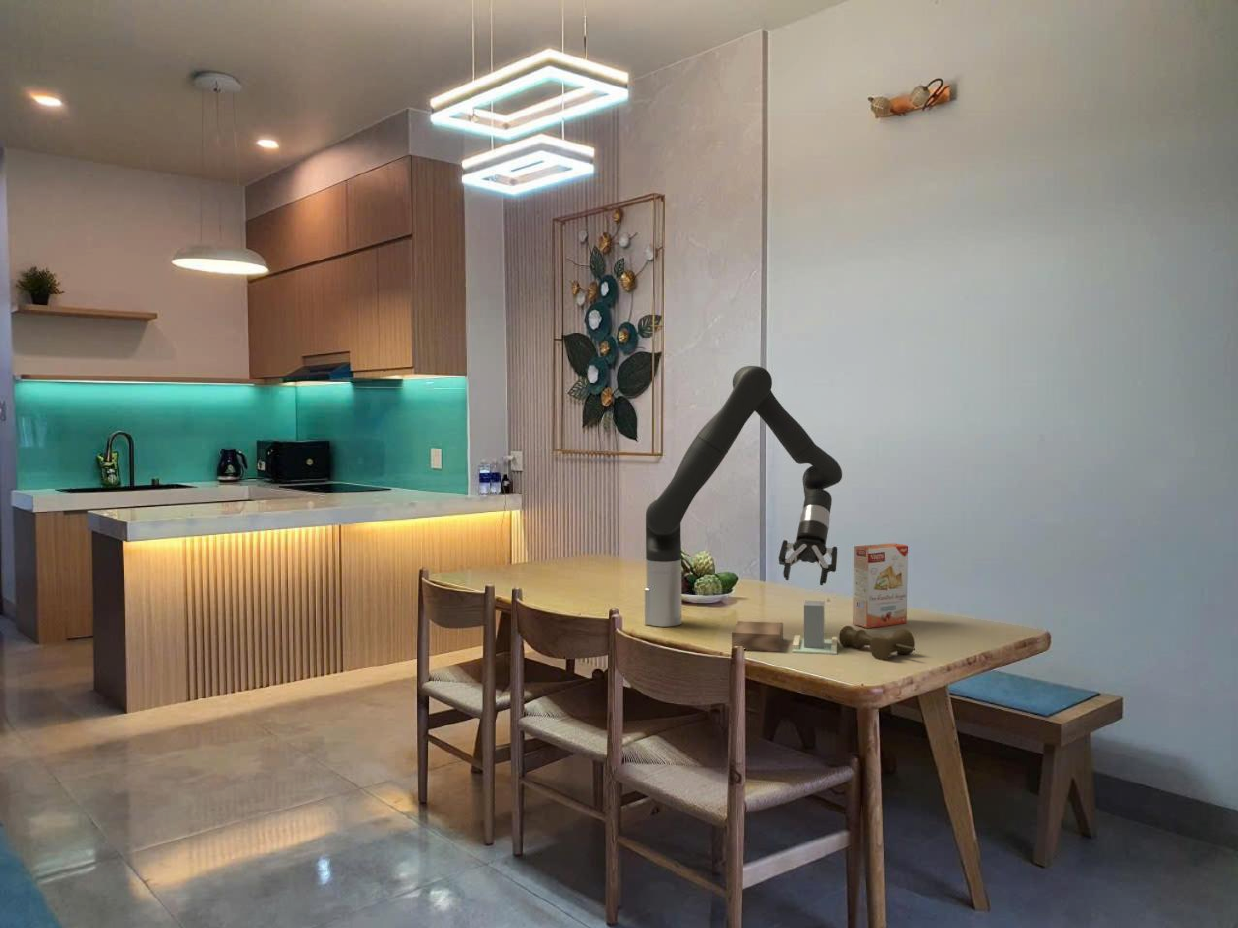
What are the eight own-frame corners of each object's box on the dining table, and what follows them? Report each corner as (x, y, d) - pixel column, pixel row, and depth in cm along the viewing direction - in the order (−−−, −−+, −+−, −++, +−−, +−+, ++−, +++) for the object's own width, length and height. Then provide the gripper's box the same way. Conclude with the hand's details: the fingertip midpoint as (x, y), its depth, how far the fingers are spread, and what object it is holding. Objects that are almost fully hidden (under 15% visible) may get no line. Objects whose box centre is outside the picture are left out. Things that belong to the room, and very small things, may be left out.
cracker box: (868, 629, 239) (868, 548, 238) (852, 624, 245) (852, 545, 244) (908, 623, 246) (909, 544, 245) (892, 619, 251) (892, 542, 250)
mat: (792, 652, 216) (792, 646, 216) (795, 639, 229) (795, 633, 229) (836, 654, 214) (836, 648, 214) (837, 641, 226) (837, 635, 226)
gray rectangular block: (803, 647, 219) (803, 605, 219) (805, 641, 225) (805, 600, 224) (823, 648, 218) (823, 606, 217) (824, 642, 224) (824, 601, 223)
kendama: (858, 644, 226) (929, 658, 209) (831, 651, 220) (902, 666, 204) (857, 620, 225) (928, 632, 209) (830, 626, 220) (900, 639, 203)
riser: (732, 649, 219) (731, 632, 219) (738, 637, 232) (738, 621, 232) (779, 651, 217) (779, 634, 217) (782, 639, 229) (782, 622, 229)
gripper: (785, 515, 240) (774, 569, 231) (841, 522, 235) (833, 577, 227) (786, 531, 246) (776, 584, 237) (841, 538, 241) (833, 592, 232)
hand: (804, 581), depth 232 cm, fingers open, 8 cm apart
